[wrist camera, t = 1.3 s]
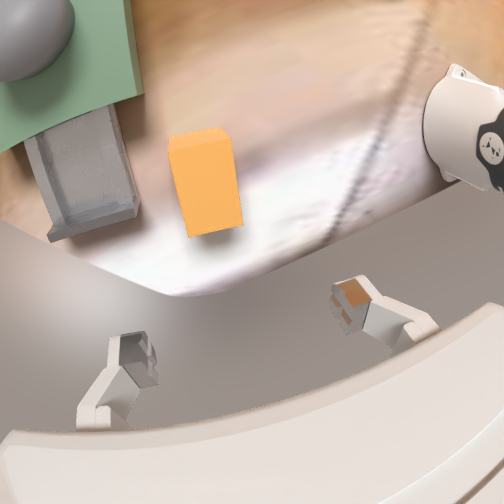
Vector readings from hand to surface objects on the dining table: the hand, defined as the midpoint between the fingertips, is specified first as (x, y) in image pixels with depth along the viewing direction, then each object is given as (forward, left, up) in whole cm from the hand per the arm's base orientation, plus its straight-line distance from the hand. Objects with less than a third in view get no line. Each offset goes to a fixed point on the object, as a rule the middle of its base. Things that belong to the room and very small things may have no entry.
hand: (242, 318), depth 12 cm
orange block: (0, 0, -20) cm, 20 cm away
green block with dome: (+12, -16, -20) cm, 28 cm away
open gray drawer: (+12, -4, -20) cm, 24 cm away
